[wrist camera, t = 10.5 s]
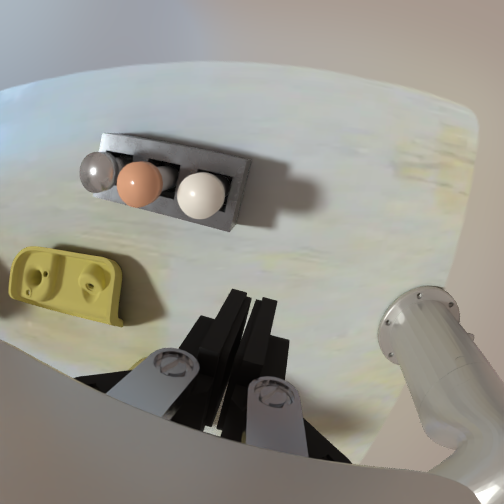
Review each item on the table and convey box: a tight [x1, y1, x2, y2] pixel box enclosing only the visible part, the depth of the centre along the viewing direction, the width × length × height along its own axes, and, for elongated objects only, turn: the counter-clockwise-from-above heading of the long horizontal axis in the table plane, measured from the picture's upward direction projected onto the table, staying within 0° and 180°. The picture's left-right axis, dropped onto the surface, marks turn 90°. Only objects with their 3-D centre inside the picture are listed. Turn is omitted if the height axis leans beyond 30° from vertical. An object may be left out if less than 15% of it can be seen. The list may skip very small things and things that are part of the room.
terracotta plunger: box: [117, 161, 179, 208], centre depth 33 cm, size 4×4×8 cm
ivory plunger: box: [177, 172, 231, 219], centre depth 34 cm, size 4×4×8 cm
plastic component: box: [8, 246, 123, 327], centre depth 44 cm, size 20×7×10 cm
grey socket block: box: [93, 133, 251, 232], centre depth 37 cm, size 18×8×4 cm, turn 76°
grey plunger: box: [80, 152, 134, 193], centre depth 35 cm, size 4×4×8 cm
